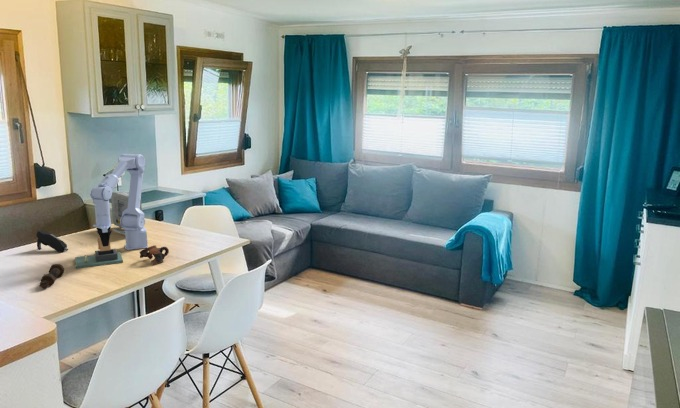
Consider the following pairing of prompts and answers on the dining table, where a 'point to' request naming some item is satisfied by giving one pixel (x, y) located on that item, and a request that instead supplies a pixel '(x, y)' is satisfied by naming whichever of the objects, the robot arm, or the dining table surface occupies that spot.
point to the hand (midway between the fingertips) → (105, 244)
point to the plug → (102, 245)
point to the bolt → (52, 275)
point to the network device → (119, 208)
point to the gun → (50, 241)
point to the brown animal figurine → (154, 254)
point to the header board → (99, 259)
